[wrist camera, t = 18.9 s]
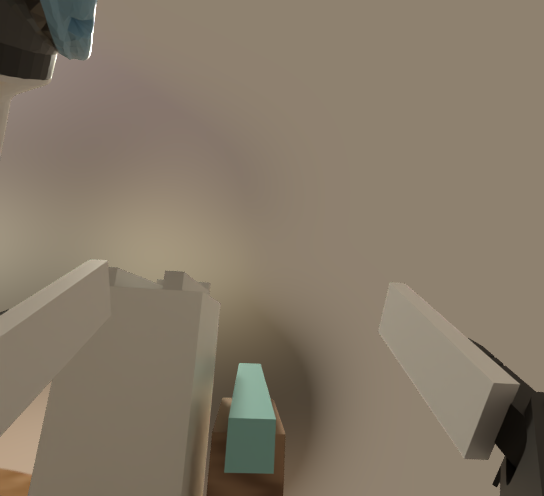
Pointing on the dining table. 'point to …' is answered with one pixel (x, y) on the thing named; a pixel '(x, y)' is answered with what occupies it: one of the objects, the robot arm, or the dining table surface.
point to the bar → (250, 424)
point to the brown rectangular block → (243, 486)
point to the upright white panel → (134, 396)
